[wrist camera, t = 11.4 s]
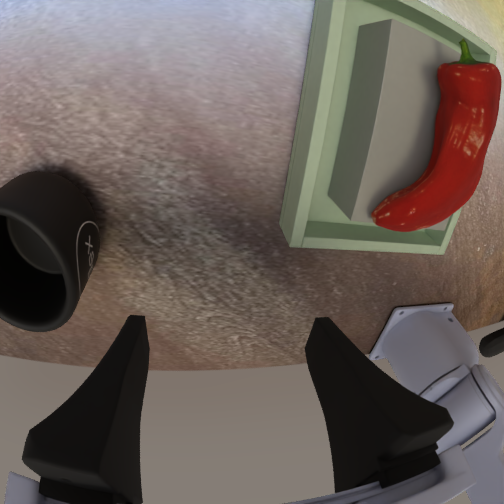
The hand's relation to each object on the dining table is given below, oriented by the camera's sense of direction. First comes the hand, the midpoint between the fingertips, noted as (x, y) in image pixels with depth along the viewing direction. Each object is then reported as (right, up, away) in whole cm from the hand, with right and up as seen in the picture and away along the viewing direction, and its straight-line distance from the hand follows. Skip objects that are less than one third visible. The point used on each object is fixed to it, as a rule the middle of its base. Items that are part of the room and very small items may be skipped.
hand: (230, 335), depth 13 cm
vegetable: (+11, +10, +2) cm, 15 cm away
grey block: (+11, +13, +6) cm, 18 cm away
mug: (-15, +6, +6) cm, 18 cm away
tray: (+11, +13, +6) cm, 18 cm away
